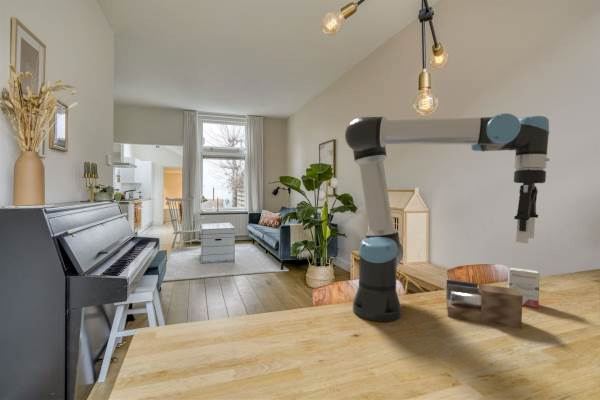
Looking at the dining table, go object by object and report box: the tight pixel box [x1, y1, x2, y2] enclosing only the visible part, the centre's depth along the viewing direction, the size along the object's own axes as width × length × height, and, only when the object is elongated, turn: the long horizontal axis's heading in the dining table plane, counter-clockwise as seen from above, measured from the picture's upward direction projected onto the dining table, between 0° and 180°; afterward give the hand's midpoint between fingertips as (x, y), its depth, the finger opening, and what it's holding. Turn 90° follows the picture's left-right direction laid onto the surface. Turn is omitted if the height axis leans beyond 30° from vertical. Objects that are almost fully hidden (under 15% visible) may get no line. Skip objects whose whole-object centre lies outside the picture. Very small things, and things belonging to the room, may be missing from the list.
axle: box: [451, 291, 481, 308], centre depth 91 cm, size 18×4×4 cm, turn 66°
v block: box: [445, 279, 479, 300], centre depth 106 cm, size 10×7×6 cm
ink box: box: [507, 267, 541, 308], centre depth 104 cm, size 9×5×12 cm, turn 58°
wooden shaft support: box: [446, 283, 523, 329], centre depth 92 cm, size 19×7×10 cm, turn 66°
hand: (525, 240), depth 89 cm, fingers open, 13 cm apart
